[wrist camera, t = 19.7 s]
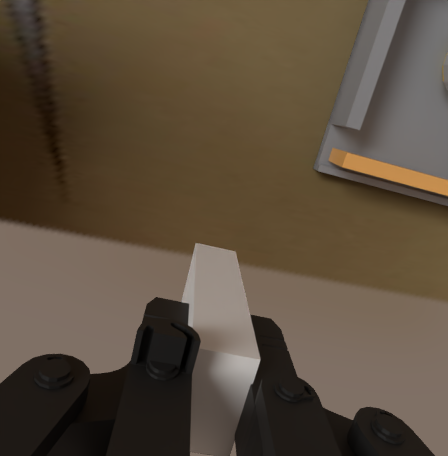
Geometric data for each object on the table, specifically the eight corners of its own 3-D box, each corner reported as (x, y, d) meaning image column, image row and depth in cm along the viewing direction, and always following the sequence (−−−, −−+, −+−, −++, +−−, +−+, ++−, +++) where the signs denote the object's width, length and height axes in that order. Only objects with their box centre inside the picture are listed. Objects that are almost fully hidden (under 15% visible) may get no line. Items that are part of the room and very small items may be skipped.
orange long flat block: (328, 160, 36) (342, 167, 33) (332, 147, 36) (347, 152, 32) (449, 193, 38) (476, 203, 34) (454, 181, 37) (482, 190, 34)
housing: (313, 168, 38) (329, 178, 33) (386, -56, 33) (419, -86, 28) (458, 207, 39) (496, 223, 34) (550, -1, 34) (610, -19, 29)
